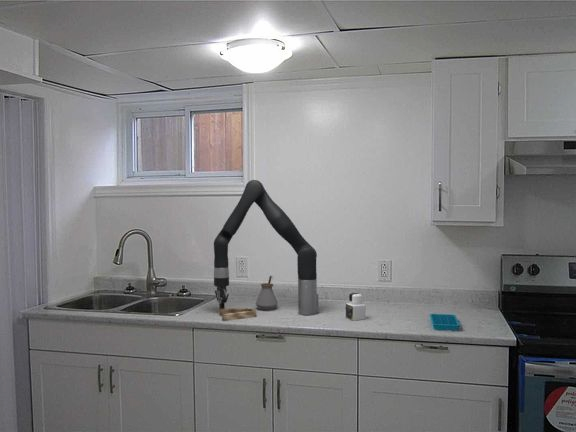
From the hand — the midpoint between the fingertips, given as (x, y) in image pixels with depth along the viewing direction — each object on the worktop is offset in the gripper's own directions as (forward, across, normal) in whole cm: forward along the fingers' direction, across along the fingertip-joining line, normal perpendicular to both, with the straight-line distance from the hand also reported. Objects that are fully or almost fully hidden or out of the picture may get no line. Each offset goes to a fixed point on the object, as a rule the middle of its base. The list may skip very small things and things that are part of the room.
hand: (221, 310), depth 261 cm
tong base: (+1, -13, -4) cm, 14 cm away
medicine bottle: (+2, -42, -51) cm, 66 cm away
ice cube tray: (+2, -72, -78) cm, 106 cm away
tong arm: (+1, -7, -5) cm, 9 cm away
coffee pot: (+2, +2, -27) cm, 27 cm away
